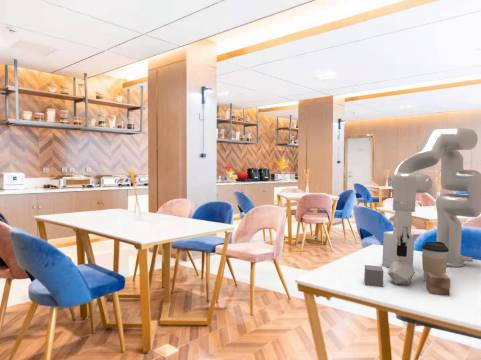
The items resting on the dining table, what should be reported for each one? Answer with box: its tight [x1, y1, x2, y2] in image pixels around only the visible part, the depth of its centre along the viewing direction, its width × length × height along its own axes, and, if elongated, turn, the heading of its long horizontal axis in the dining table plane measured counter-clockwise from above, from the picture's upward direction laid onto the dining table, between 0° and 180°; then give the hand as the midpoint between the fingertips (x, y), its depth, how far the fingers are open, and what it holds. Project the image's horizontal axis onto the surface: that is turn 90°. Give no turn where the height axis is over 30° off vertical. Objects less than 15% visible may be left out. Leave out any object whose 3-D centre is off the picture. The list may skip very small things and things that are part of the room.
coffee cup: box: [421, 241, 449, 283], centre depth 136 cm, size 9×9×15 cm
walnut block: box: [425, 272, 451, 297], centre depth 126 cm, size 6×6×6 cm
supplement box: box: [381, 230, 415, 269], centre depth 155 cm, size 9×9×15 cm
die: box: [387, 262, 416, 285], centre depth 134 cm, size 8×9×10 cm
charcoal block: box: [363, 264, 384, 288], centre depth 133 cm, size 6×6×6 cm
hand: (401, 255), depth 134 cm, fingers closed
